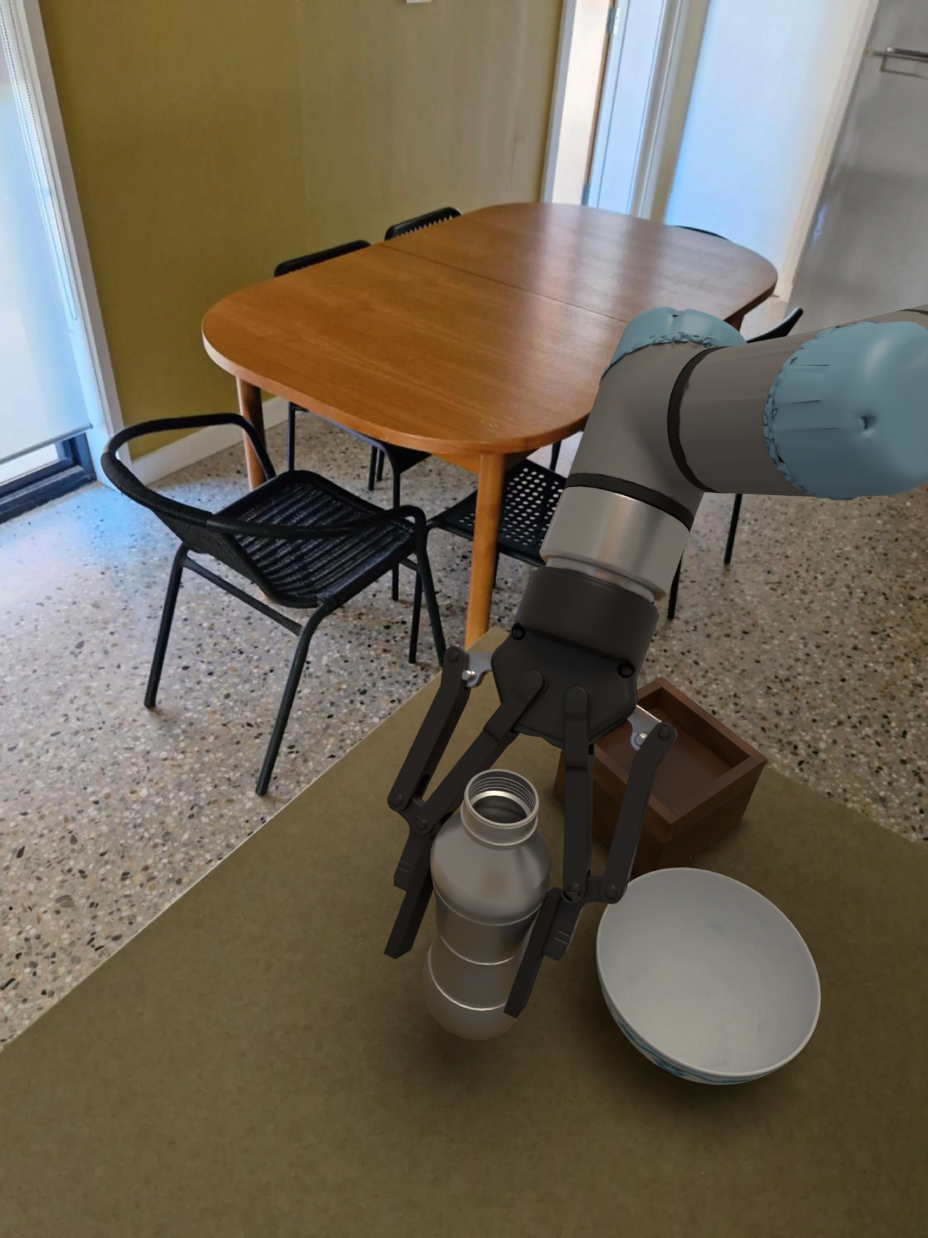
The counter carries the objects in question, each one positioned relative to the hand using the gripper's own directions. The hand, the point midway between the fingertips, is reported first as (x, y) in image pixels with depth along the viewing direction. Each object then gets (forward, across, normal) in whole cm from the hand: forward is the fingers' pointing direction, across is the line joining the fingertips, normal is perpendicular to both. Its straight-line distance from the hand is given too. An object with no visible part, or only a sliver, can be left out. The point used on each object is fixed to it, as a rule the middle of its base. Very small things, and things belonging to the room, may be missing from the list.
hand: (455, 979), depth 48 cm
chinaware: (+2, -13, -22) cm, 25 cm away
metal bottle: (+4, 0, -9) cm, 9 cm away
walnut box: (-10, -5, -34) cm, 36 cm away
